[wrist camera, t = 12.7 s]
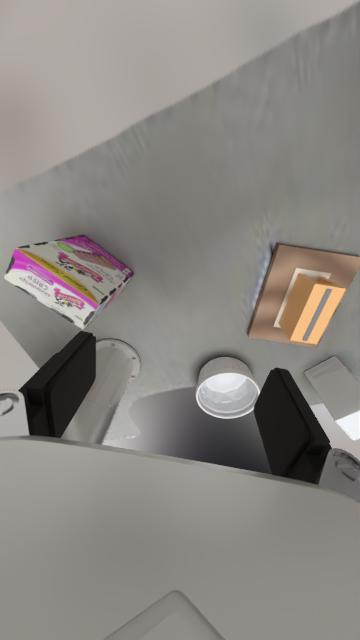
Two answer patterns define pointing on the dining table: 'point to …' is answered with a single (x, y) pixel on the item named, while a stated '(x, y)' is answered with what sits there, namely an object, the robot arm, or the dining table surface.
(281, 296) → the pin board
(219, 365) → the ramekin
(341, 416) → the supplement box
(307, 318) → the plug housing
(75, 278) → the candy bar box
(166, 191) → the dining table surface
